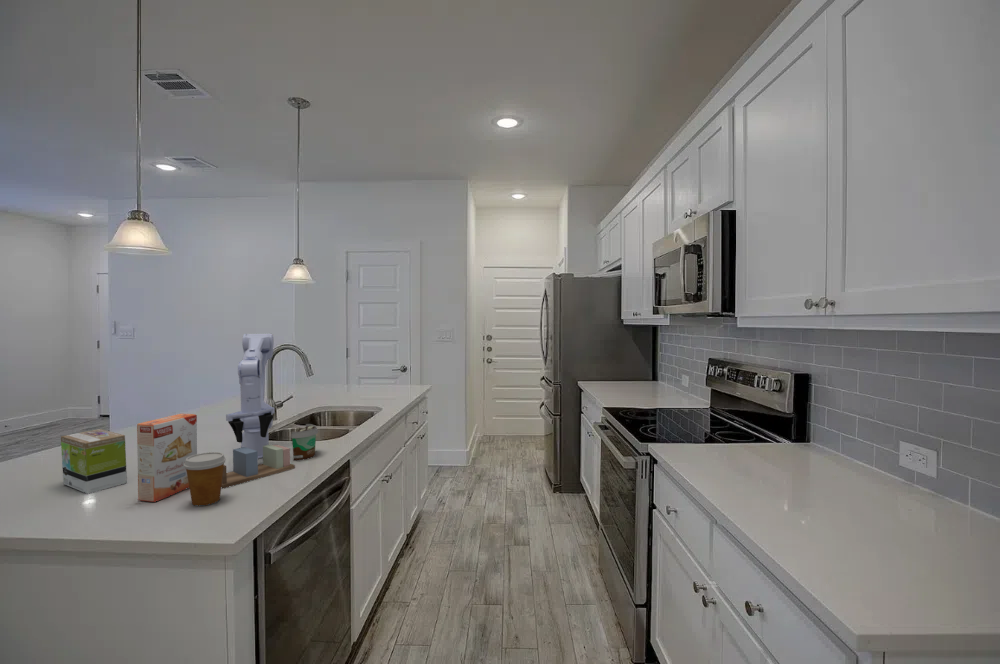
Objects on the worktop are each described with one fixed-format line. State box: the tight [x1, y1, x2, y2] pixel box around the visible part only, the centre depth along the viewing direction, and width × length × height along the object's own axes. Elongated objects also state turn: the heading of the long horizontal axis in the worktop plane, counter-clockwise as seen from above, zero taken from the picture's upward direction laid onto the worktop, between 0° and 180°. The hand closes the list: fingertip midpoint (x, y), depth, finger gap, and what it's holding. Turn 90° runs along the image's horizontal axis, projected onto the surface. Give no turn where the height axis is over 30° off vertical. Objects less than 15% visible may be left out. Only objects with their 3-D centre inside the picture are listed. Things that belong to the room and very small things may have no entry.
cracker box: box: [136, 413, 198, 503], centre depth 133 cm, size 14×6×21 cm, turn 168°
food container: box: [290, 423, 319, 461], centre depth 167 cm, size 12×6×10 cm, turn 179°
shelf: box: [221, 463, 296, 489], centre depth 148 cm, size 10×22×6 cm, turn 145°
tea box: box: [60, 428, 128, 495], centre depth 140 cm, size 15×10×15 cm, turn 62°
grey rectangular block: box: [232, 447, 259, 477], centre depth 147 cm, size 8×4×7 cm, turn 54°
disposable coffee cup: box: [184, 451, 227, 507], centre depth 127 cm, size 10×10×12 cm
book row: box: [262, 444, 291, 469], centre depth 155 cm, size 8×4×6 cm, turn 55°
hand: (251, 439), depth 154 cm, fingers open, 7 cm apart
